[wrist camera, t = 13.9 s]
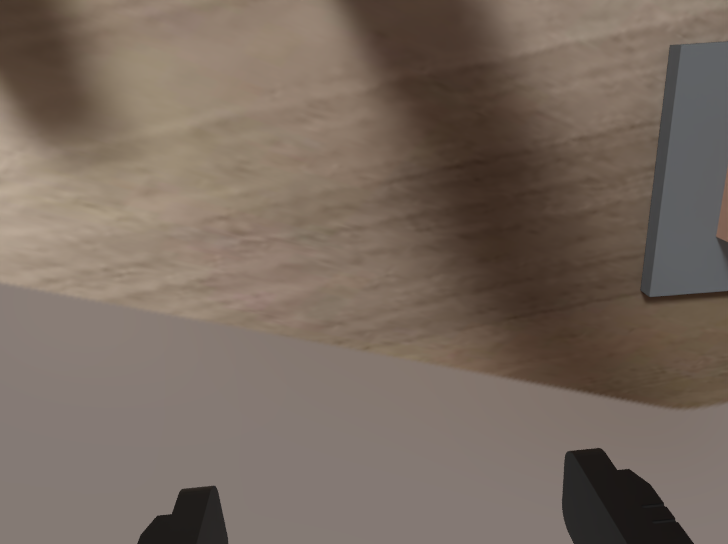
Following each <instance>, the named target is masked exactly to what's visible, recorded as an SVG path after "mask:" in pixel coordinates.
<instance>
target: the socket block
mask: <svg viewBox="0 0 728 544" xmlns="http://www.w3.org/2000/svg"><path fill="white" fill-rule="evenodd" d="M641 291H642V292H643V293H645V294H646V295H647V296H649V297H656V296H669V295H682V294H694V293H707V292H720V291H728V41H726V42H711V43H696V44H680V45H670V50H669V58H668V67H667V75H666V83H665V91H664V100H663V108H662V116H661V125H660V133H659V141H658V150H657V158H656V166H655V174H654V183H653V191H652V199H651V208H650V216H649V224H648V232H647V241H646V249H645V257H644V266H643V274H642V282H641Z"/></svg>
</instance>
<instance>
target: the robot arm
mask: <svg viewBox="0 0 728 544" xmlns="http://www.w3.org/2000/svg"><path fill="white" fill-rule="evenodd" d="M562 510H563V516H564V521H565V524H566V527H567V530H568V532H569V535H570V537H571V539H572V541H573V543H574V544H694V543H693V542H692V541H691V539H690V538H689V536H688V535H687V534H686V532H685V531H684V530H683V528H682V527H681V526H680V524H679V523H678V522H676V521H675V517H674V516H673V515H672V513H671V512H670V511H669V509H668V508H667V507H665V506H664V503H663V501H662V500H661V498H660V497H659V496H658V494H657V493H656V492H655V490H654V489H653V488H652V486H651V485H650V484H649V483H647V482H646V481H645V480H643V479H642V478H641V477H639V476H638V475H637V474H635V473H634V472H632V471H631V470H630V469H625V470H617V469H616V468H615V466H614V465H613V463H612V462H611V460H610V459H609V458H608V456H607V455H606V453H605V452H604V451H603V450H602V449H600V448H596V449H586V450H576V451H568V452H567V453H566V455H565V463H564V480H563V497H562ZM137 544H228V537H227V532H226V527H225V522H224V518H223V513H222V508H221V503H220V499H219V494H218V490H217V488H216V486H208V487H197V488H187V489H182V490H181V491H180V492H179V495H178V498H177V500H176V504H175V506H174V510H173V512H172V514H170V515H160V516H157V517H156V518H155V519H154V520H153V521H152V523H151V524H150V525H149V526H148V527H147V528H146V530H145V531H144V532H143V533H142V534H141V536H140V538H139V541H138V543H137Z"/></svg>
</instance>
